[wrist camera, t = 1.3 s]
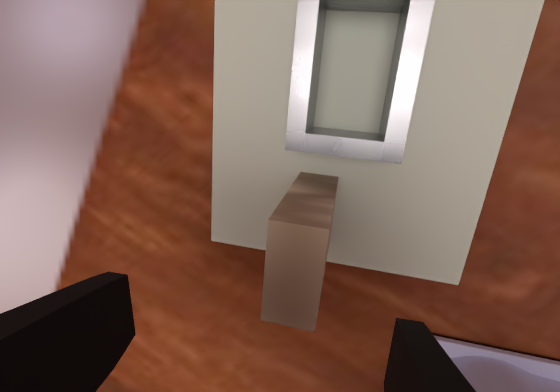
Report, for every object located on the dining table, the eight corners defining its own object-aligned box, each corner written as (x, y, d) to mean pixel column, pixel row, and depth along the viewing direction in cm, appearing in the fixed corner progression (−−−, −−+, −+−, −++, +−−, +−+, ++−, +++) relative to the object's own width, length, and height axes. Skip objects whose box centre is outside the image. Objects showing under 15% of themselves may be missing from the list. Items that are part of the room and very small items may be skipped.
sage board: (537, -14, 13) (550, -22, 13) (452, 275, 18) (458, 285, 17) (223, -22, 16) (215, -29, 15) (217, 233, 20) (211, 240, 19)
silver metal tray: (423, -8, 14) (441, -34, 11) (392, 151, 16) (401, 163, 13) (311, -11, 14) (300, -37, 12) (296, 140, 17) (284, 149, 14)
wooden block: (338, 176, 17) (329, 229, 10) (328, 245, 18) (314, 332, 11) (300, 171, 17) (268, 219, 10) (293, 239, 18) (260, 320, 12)
